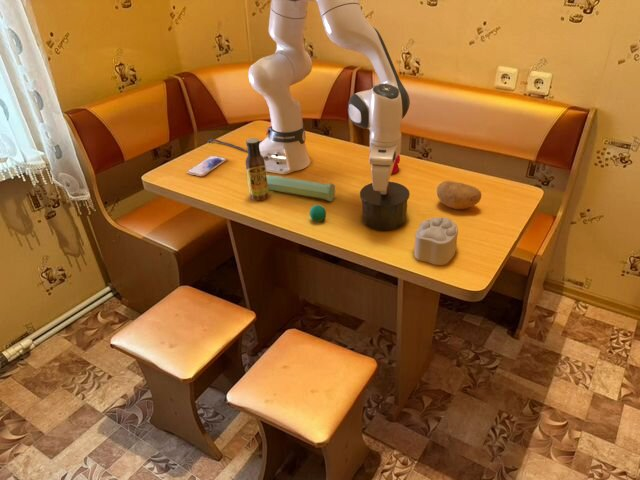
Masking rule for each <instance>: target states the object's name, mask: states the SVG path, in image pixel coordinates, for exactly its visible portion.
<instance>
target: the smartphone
mask: <svg viewBox="0 0 640 480" xmlns="http://www.w3.org/2000/svg"><path fill="white" fill-rule="evenodd" d="M226 161H227V158H226V157H222V156H217V155H214V154H213V155H210V156H208V157H207V158H205V159H204V160H202V161H200V163H198V164H196V165H194V166H193V167H192V168H190V169H189V170H187V174H188V175H191V176H197V177H205V176H206V175H208V174H209V173H210V172H212V171H214V170H215V169H216V168H218V167H219V166H220V165H222V164H223V163H225V162H226Z"/></svg>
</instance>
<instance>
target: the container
mask: <svg viewBox="0 0 640 480" xmlns="http://www.w3.org/2000/svg"><path fill="white" fill-rule="evenodd" d="M267 184H268V191H273V192H280V193H284V194H291V195H297V196H302V197H308V198H314V199H320V200H325V201H327V202H329V203H331V202H332V201H333V200H334V198H335V193H336V188H335V185H334V184H333V183H331V182H330V183H328V184H327V183H322V182H315V181H309V180H303V179H297V178H290V177H286V176H285V177H284V176H279V175H278V176H277V175H271V174H268V175H267Z"/></svg>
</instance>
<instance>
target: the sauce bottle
mask: <svg viewBox="0 0 640 480" xmlns="http://www.w3.org/2000/svg"><path fill="white" fill-rule="evenodd" d="M259 141H260V139H258V138H257V137H250V138H248V139H246V140H245V145H246V148H247V151H248V153H247V156H246V159H245V170H246V178H247V184H248V185H247V186H248V192H249V197H250V199H252V200H254V201H263V200H266V199H268V197H269V190H268V184H267V176H268V175H267V171H266V166H265V161H264V158H263V157H262V155H261V154H260V149H259V144H260V143H259Z"/></svg>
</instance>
